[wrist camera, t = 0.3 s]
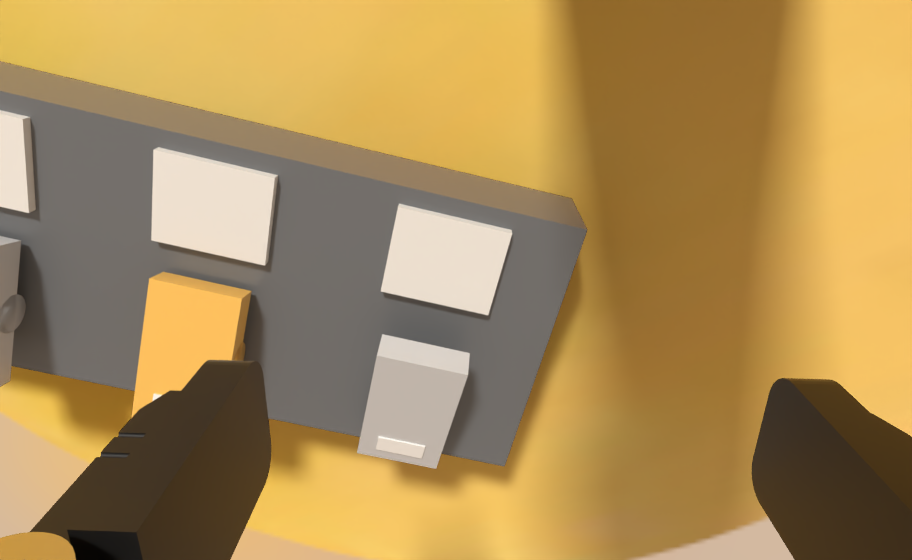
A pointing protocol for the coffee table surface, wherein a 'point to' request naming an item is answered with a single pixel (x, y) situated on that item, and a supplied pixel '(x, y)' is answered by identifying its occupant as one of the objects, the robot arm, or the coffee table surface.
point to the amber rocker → (186, 332)
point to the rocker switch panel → (274, 252)
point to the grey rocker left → (9, 302)
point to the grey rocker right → (412, 401)
